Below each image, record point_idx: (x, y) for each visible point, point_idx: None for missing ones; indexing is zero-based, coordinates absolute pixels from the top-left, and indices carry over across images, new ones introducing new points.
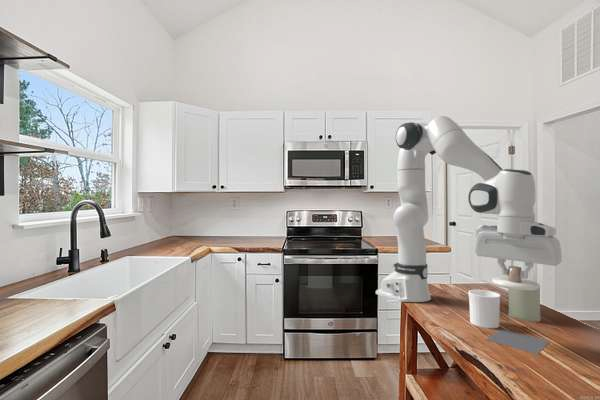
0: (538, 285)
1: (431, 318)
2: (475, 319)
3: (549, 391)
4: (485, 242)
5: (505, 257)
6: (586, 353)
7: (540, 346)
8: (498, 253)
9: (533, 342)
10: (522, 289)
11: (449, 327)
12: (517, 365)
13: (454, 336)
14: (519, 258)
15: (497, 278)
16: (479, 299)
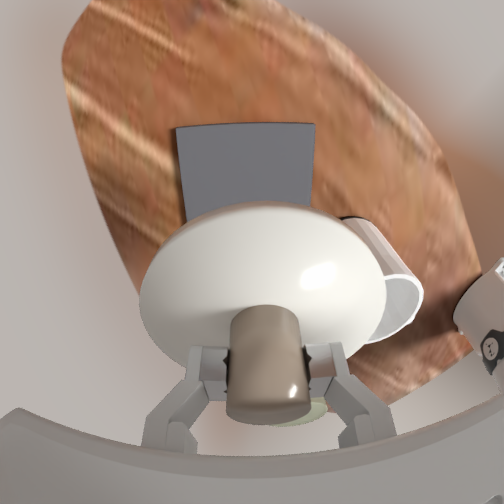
0: (145, 326)
1: (454, 205)
2: (372, 228)
3: None
4: (497, 499)
5: (343, 464)
6: (125, 242)
7: (190, 189)
8: (405, 475)
9: (212, 205)
10: (181, 229)
11: (415, 172)
12: (197, 35)
13: (391, 112)
14: (215, 478)
15: (358, 324)
16: (387, 267)
